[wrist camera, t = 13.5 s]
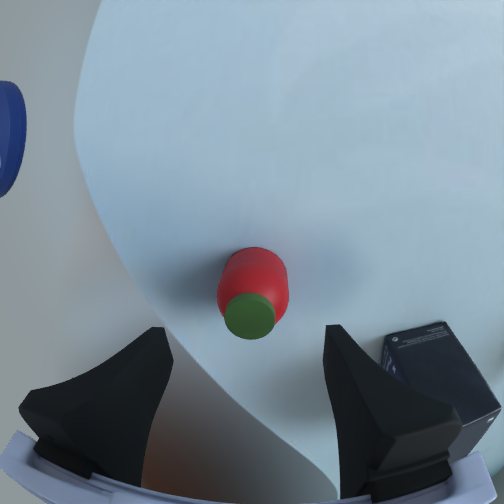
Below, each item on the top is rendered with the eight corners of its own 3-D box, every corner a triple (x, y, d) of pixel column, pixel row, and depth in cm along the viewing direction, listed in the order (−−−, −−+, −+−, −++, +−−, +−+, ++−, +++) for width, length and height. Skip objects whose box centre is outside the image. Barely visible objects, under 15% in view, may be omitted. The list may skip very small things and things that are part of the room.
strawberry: (227, 304, 20) (214, 350, 15) (220, 248, 18) (203, 284, 14) (287, 302, 19) (290, 350, 15) (286, 245, 18) (290, 281, 13)
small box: (380, 334, 20) (425, 441, 10) (446, 318, 19) (508, 403, 9) (368, 411, 24) (388, 497, 14) (423, 396, 23) (454, 473, 13)
